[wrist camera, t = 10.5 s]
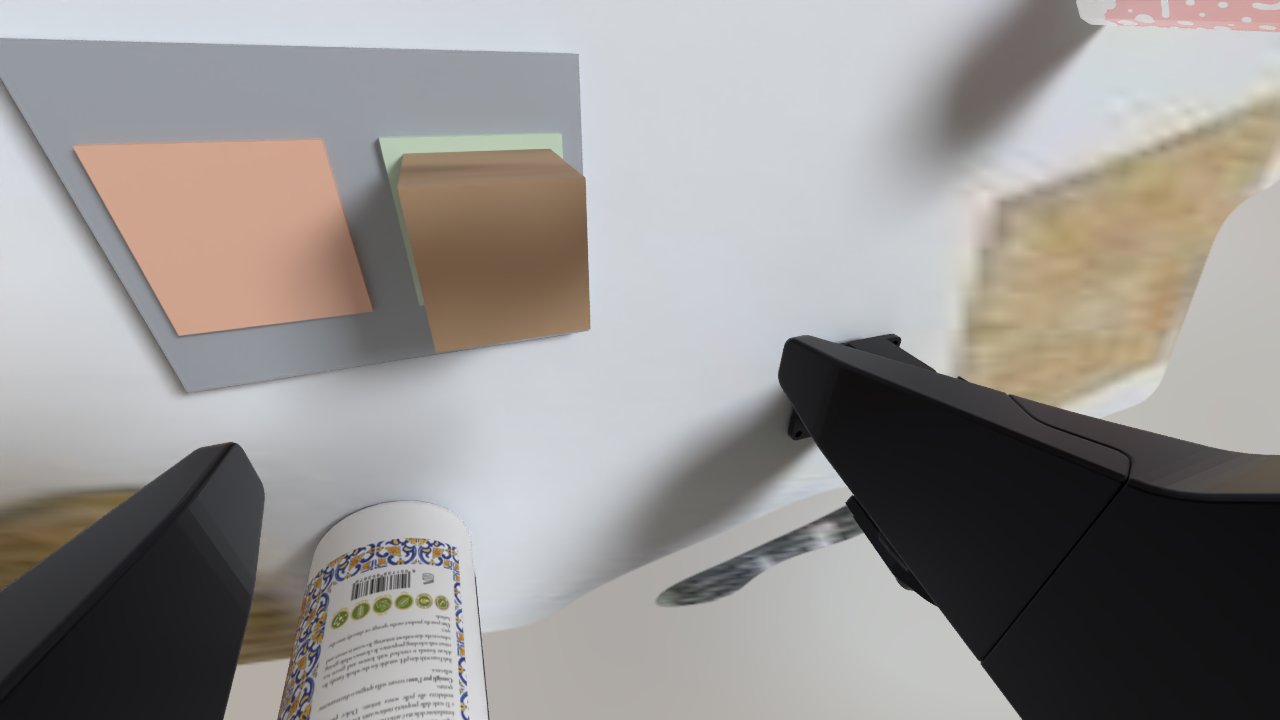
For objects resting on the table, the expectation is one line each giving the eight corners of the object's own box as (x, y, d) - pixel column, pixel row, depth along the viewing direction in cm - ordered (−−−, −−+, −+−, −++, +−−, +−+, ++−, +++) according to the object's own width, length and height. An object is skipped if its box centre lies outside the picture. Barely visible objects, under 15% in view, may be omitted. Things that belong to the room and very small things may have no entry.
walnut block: (558, 275, 19) (590, 329, 15) (433, 289, 17) (435, 352, 14) (550, 148, 16) (585, 178, 13) (403, 153, 15) (397, 188, 11)
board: (583, 322, 21) (590, 333, 20) (196, 379, 17) (184, 397, 16) (572, 53, 16) (580, 53, 15) (1, 38, 12) (-34, 37, 11)
